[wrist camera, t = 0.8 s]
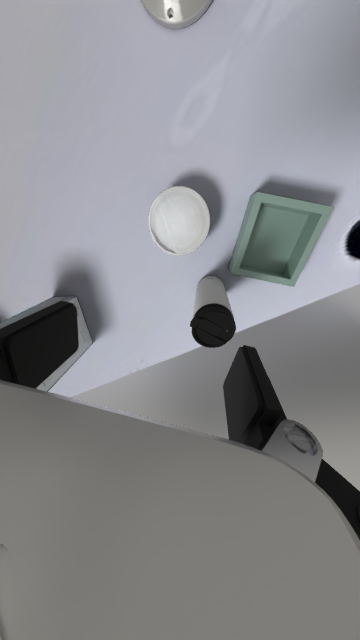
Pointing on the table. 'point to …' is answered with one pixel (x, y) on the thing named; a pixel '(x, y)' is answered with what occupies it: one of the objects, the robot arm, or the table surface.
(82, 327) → the hard drive box
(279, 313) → the table surface
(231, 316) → the travel mug
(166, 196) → the ramekin
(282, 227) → the tray
